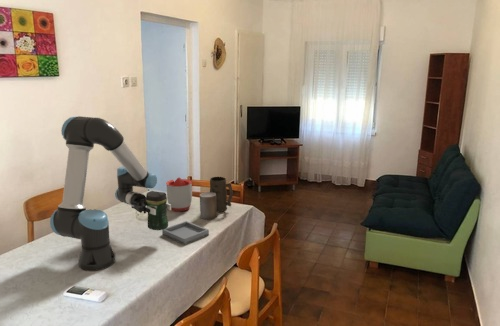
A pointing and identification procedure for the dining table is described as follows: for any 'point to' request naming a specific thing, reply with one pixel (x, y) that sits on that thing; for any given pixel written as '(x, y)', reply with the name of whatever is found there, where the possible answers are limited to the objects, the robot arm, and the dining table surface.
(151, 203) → the coffee jar
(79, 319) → the dining table surface
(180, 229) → the tray
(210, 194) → the pillar candle
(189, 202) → the citrus juicer
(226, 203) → the beer stein
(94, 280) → the dining table surface
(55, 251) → the dining table surface
